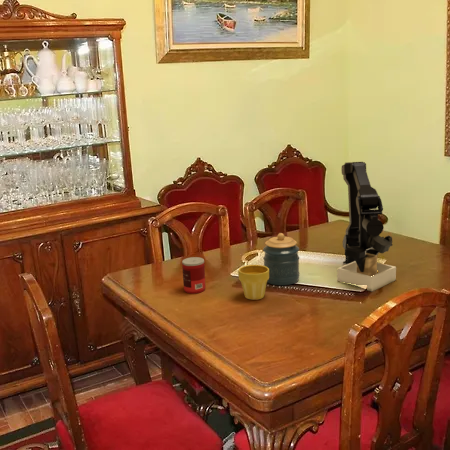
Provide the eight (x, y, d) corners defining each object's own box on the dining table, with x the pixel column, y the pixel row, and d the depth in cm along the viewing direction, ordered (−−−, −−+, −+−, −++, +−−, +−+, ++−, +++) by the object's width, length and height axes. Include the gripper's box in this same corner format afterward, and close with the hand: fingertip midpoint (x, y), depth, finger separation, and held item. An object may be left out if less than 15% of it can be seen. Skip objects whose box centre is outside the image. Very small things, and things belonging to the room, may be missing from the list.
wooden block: (368, 277, 205) (368, 258, 203) (356, 274, 209) (356, 255, 207) (376, 274, 208) (377, 255, 207) (364, 270, 212) (365, 252, 210)
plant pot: (253, 288, 207) (252, 262, 204) (275, 295, 200) (275, 268, 197) (233, 297, 200) (231, 269, 197) (255, 304, 193) (254, 276, 190)
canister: (306, 278, 214) (306, 232, 210) (285, 288, 205) (284, 240, 201) (278, 271, 223) (277, 226, 218) (256, 280, 214) (255, 234, 209)
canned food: (208, 286, 210) (207, 257, 207) (200, 294, 203) (199, 264, 200) (189, 285, 213) (187, 256, 210) (180, 293, 205) (178, 263, 203)
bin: (337, 281, 210) (337, 268, 209) (361, 271, 219) (361, 258, 218) (371, 291, 199) (372, 277, 198) (395, 280, 209) (396, 266, 207)
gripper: (371, 238, 192) (370, 282, 196) (402, 226, 204) (401, 268, 208) (343, 232, 200) (343, 275, 204) (375, 221, 212) (374, 262, 216)
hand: (366, 270), depth 208 cm, fingers closed on wooden block, 5 cm apart
